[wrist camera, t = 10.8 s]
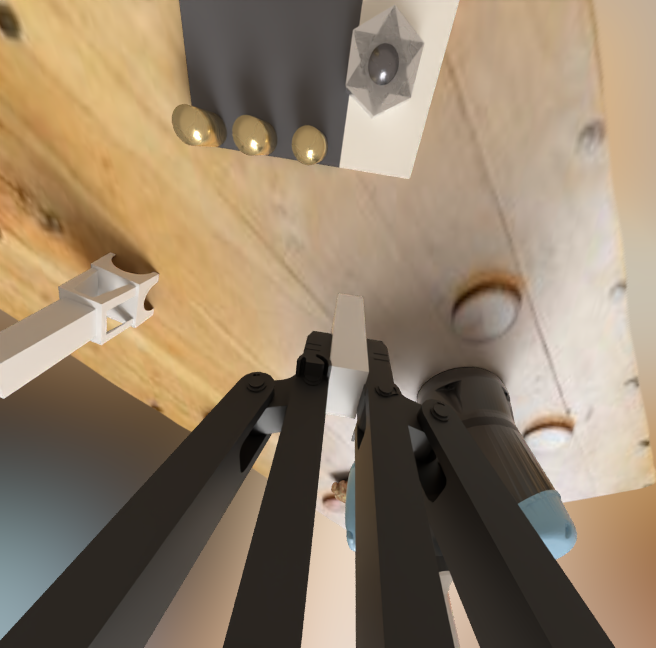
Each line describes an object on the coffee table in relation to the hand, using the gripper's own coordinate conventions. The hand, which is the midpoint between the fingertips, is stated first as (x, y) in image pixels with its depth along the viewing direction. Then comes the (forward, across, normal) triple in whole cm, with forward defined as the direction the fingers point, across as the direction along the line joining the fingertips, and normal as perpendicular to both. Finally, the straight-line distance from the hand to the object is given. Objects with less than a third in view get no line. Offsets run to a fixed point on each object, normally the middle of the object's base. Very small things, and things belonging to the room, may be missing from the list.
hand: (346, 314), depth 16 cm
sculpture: (+21, +32, +12) cm, 40 cm away
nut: (+20, 0, -16) cm, 25 cm away
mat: (+20, +6, -15) cm, 26 cm away
